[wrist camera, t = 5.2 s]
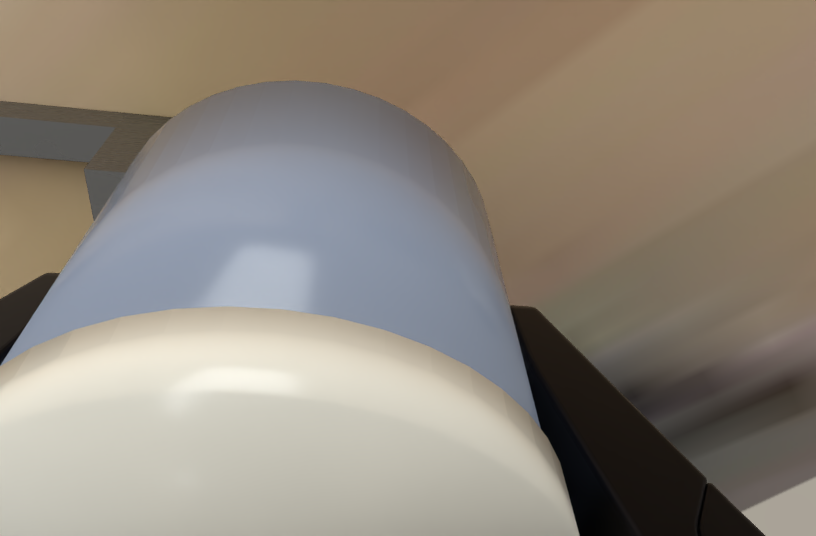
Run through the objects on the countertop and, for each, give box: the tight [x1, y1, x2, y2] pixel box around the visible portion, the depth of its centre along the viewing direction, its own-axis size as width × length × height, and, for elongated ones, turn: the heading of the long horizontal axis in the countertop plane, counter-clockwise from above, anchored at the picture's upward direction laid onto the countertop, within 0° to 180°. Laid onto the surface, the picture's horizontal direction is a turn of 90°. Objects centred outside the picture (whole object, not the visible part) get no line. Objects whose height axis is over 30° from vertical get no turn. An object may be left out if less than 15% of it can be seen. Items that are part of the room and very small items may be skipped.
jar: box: [0, 81, 580, 536], centre depth 8 cm, size 6×6×5 cm
